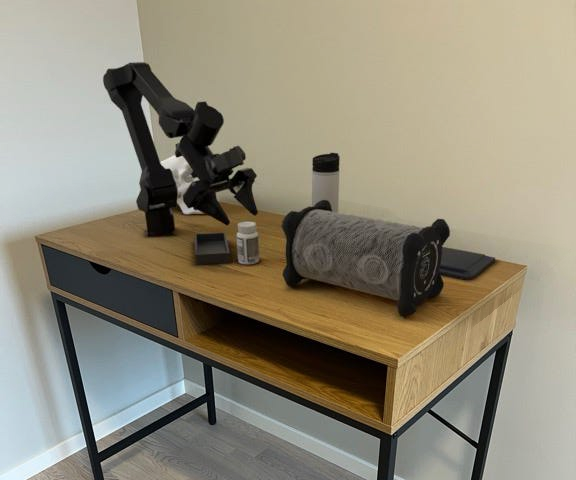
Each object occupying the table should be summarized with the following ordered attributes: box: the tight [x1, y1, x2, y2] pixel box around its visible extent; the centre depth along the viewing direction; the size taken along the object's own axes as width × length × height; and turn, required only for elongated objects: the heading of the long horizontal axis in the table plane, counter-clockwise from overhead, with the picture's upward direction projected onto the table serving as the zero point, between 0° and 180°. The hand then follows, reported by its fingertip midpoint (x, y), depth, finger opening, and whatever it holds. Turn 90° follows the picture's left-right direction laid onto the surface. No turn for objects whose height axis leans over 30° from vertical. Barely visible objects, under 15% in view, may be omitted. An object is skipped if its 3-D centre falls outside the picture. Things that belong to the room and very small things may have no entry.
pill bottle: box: [236, 221, 260, 265], centre depth 130 cm, size 5×5×8 cm
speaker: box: [281, 200, 451, 318], centre depth 112 cm, size 15×28×15 cm, turn 53°
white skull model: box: [160, 154, 206, 216], centre depth 170 cm, size 14×20×19 cm
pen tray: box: [194, 231, 231, 266], centre depth 137 cm, size 16×8×2 cm, turn 8°
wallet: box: [439, 246, 496, 281], centre depth 130 cm, size 20×2×15 cm
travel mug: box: [311, 152, 341, 213], centre depth 139 cm, size 6×7×20 cm
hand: (242, 219), depth 128 cm, fingers open, 9 cm apart
